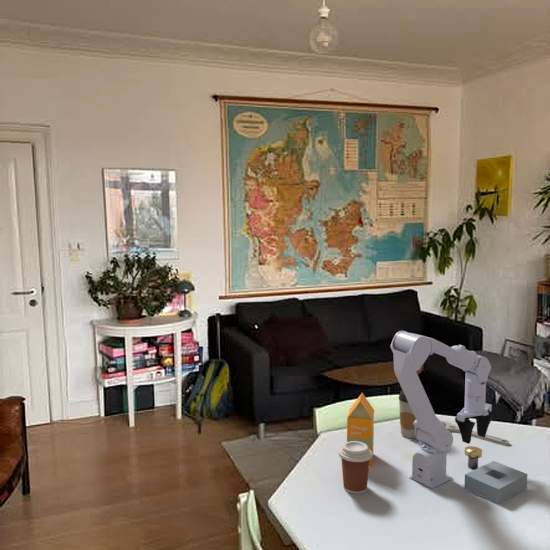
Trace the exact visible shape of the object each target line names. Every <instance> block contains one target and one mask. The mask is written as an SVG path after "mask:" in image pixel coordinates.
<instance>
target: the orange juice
mask: <svg viewBox="0 0 550 550" xmlns="http://www.w3.org/2000/svg"><path fill="white" fill-rule="evenodd" d="M374 414H375V409H374V408H373V406H372V405H371V403H370V401H369V400H368V399H367V398H366V396H365V394H364V393H363V392H361V394H360V395H359V396H358V398H356V400H355V401H354V403H352V405H351V407H350V408H349V410H348V414H347V417H346V442H350V441H358V442H362V443H365V444H366V445H367V446H368V448H369V450H371V452H372V458H371V459H370V461H369V467H372V466H373V460H374V459H373V458H374V438H375V435H374V433H375V427H374V426H375V421H374V420H375V417H374V416H375V415H374Z"/></svg>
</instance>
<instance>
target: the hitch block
mask: <svg viewBox="0 0 550 550" xmlns="http://www.w3.org/2000/svg"><path fill="white" fill-rule="evenodd" d="M463 488H464V489H465V490H466V491H469V492H471V493H473V494H475V495H478V496H479V497H482V498H484V499H485V500H488V501H490V502H493V503H494V504H498V505H499V504H501V503H504V501H506V500H508V499H510V498H511V497H513V496H515V495H518V494H519V493H521V492H522V491H524V490H526V489H527V488H528V473H525V472H523V471H520V470H518V469H515V468H513V467H511V466H507V465H506V464H502V463H500V462H498V461H495V460H493V461H491V462H488V463H486V464H484V465H482V466H480V467H478V469H475V470H473V469H472V470H471V471H469V472H467V473H465V474H464V487H463Z"/></svg>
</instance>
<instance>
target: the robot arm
mask: <svg viewBox="0 0 550 550" xmlns="http://www.w3.org/2000/svg"><path fill="white" fill-rule="evenodd" d="M390 350H391V352H392V353H393V371H394V375H395V377H396V379H397V381H398V383H399V385H400V388H401V389H402V390H403V392H404V394H405V396H406V398H407V401H408V403H409V405H410V407H411V409H412V411H413V414H414V416H415V418H416V420H415V421H414V423H413V425H414V427H415V436H416V438H415V439H417V440H418V445H419V449H418V451H417V452H415V453H414V454H413V455H412V463H411V466H412V470H411V471H412V472H411V474H410V475H409V478H410V479H412V480H414V481H417V482H418V483H420V484H422V485H425V486H426V487H428V488H431V489H433V488H437V486H438V487H439V486H441V485H442V484H444V483H446V482H449V481H451V480H452V479H453V476H452V475H449V474H447V458H448V457H447V455H448V454H447V453H448V452H449V450H450V449H451V447H452V445H453V442H454V435H453V432H450V431H448V430H447V429H446V427H445V425H444V424H443V423H442V422H441V421H442V420H440V418H438V417H437V415H436V413H435V411H434V409H433V406H432V404H431V402H430V400H429V397H428V395H427V393H426V391H425V389H424V386H423V384H422V382H421V379H420V377H419V375H418V373H417V371H420V369H421V368H422V366H423V365H424V363H426V360H427V359H428V357H429V356H432V355H433V354H437V355H439V356H442V357H444V358H446V362H447V363H448V364H450V365H452V366H454V367H456V368H458V369H461V370H462V371H463V372H465V374H464V375H465V380H464V381H465V382H464V383H465V384H464V407H463V408H462V409H461V410H460V411H459V412H458V413H457V414H456V416H455V418H454V421H455V423H456V426H458V427H459V429H460V433H459V434H460V436H461V440H462V442H463V443H466V444H467V445H469V444H471V441H472V436H471V435H472V431H474V430H473V429H474V427H475V425H476V432H477V434H478V435H479V436H481V437H485V435H487V432H488V429H489V426H490V423H491V422H492V420H493V419H494V416H495V415H494V413H492V409H493V407H492V404H491V403H490V404H489V403H487V402H486V400H487V399H486V398H487V397H486V393H487V390H486V389H487V382H488V379H489V374H490V372H491V370H492V365H491V362H490V361H489V359H488V358H487V357H486V356H482V355H479V354H477V352H476V351H474V350H468V349H466V346H465V345H462V344H458V345H453V346H449V345H447V344H445V343H444V342H441V341H439V340H437V339H435V338H432V337H428V336H426V335H421V334H417V333H413V332H408V331H406V330H398V332H396V333H395V335H394V336H393V338H392V341H391V344H390ZM402 390H401V391H402ZM473 417H475V421H476V422H474V421H471V419H470V418H473Z"/></svg>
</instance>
